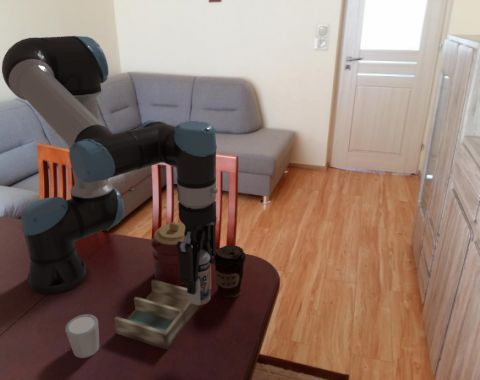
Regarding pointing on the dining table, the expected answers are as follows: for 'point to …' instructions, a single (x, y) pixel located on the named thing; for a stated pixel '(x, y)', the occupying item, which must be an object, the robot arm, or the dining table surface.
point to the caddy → (158, 315)
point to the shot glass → (83, 335)
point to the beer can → (204, 277)
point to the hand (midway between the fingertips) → (199, 294)
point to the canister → (168, 253)
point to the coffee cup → (229, 270)
